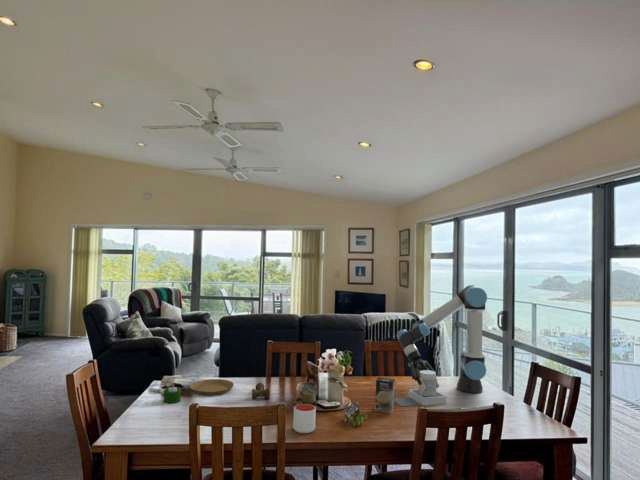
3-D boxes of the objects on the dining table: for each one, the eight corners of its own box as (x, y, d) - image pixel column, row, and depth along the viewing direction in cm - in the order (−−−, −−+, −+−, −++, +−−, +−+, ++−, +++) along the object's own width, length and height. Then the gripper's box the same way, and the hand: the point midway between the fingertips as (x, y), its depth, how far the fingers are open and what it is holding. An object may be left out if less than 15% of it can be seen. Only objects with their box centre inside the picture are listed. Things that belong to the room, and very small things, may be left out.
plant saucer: (181, 391, 245) (181, 385, 245) (213, 381, 265) (213, 376, 265) (210, 400, 231) (211, 394, 232) (242, 389, 251) (242, 384, 252)
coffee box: (374, 411, 223) (375, 379, 224) (376, 407, 229) (377, 376, 230) (392, 414, 220) (393, 382, 221) (394, 409, 226) (395, 379, 227)
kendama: (268, 391, 251) (270, 402, 231) (251, 392, 249) (252, 403, 229) (268, 381, 251) (270, 390, 232) (251, 382, 250) (252, 391, 230)
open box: (430, 394, 254) (430, 388, 254) (446, 403, 240) (446, 396, 240) (408, 396, 249) (408, 389, 249) (423, 405, 235) (423, 398, 235)
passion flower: (345, 433, 208) (340, 407, 215) (368, 428, 209) (362, 403, 216) (347, 427, 199) (341, 401, 205) (370, 423, 200) (363, 397, 207)
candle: (182, 402, 226) (183, 383, 226) (165, 404, 222) (166, 385, 222) (178, 397, 233) (179, 379, 234) (162, 399, 229) (163, 380, 229)
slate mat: (409, 397, 247) (409, 397, 247) (420, 404, 236) (420, 404, 236) (390, 399, 243) (390, 398, 243) (401, 406, 232) (401, 406, 232)
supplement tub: (439, 399, 243) (440, 373, 243) (427, 402, 238) (428, 375, 238) (426, 394, 251) (427, 369, 251) (414, 397, 246) (415, 371, 246)
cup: (292, 425, 201) (293, 403, 201) (314, 425, 202) (315, 403, 202) (293, 434, 191) (294, 411, 192) (315, 434, 192) (316, 411, 192)
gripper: (423, 355, 264) (442, 389, 250) (395, 359, 253) (413, 394, 239) (429, 348, 259) (449, 382, 245) (401, 351, 248) (419, 387, 234)
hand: (431, 388), depth 242 cm, fingers closed on supplement tub, 9 cm apart
